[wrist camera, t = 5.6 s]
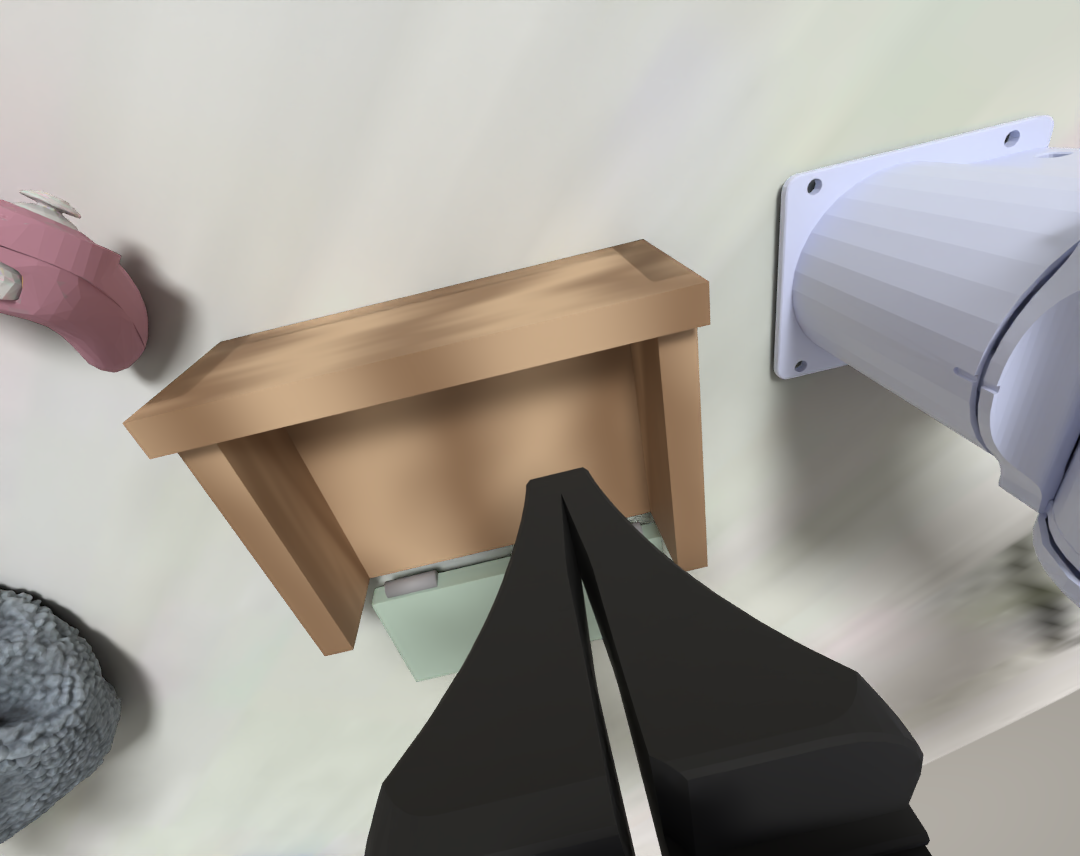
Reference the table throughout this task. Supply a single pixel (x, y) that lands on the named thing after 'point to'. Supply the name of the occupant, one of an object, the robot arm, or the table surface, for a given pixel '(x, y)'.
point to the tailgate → (451, 612)
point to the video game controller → (69, 283)
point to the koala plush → (47, 711)
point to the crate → (445, 422)
